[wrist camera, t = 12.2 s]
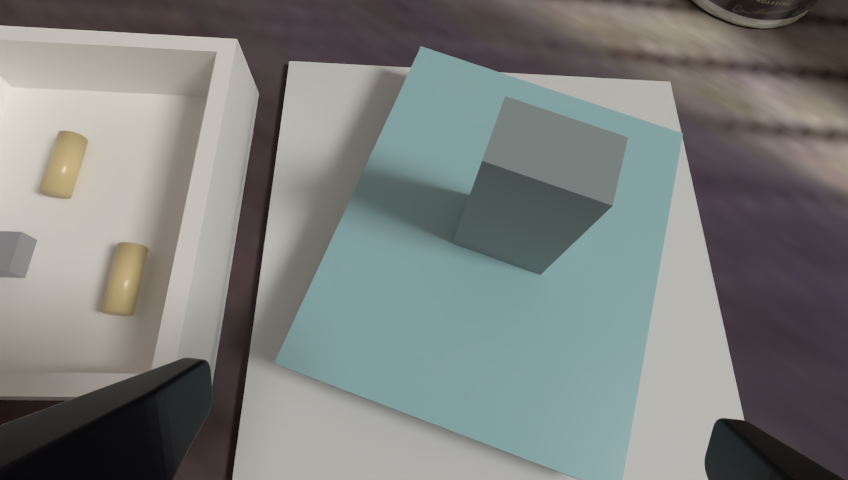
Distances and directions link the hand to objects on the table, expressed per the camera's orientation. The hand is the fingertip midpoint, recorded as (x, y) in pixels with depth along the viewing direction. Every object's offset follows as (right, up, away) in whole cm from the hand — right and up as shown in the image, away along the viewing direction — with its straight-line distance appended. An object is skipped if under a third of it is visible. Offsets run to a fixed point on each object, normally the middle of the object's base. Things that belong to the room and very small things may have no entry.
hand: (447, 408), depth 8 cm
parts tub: (-16, +4, +14) cm, 22 cm away
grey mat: (+3, +2, +15) cm, 16 cm away
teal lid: (+3, +2, +15) cm, 15 cm away
